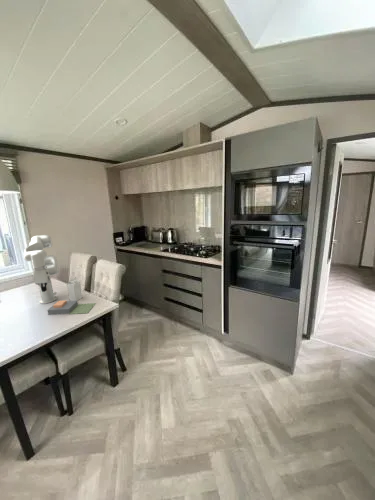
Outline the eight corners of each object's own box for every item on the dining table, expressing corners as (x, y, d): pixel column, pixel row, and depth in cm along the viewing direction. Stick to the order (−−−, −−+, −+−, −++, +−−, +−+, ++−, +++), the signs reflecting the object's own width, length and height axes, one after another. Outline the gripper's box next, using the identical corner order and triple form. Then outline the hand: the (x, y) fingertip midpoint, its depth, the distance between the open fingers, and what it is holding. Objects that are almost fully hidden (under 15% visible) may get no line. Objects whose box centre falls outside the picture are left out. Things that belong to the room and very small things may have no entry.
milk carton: (69, 300, 188) (65, 279, 184) (76, 297, 195) (72, 276, 190) (76, 301, 186) (72, 280, 182) (82, 297, 193) (79, 277, 188)
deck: (58, 305, 179) (57, 301, 178) (78, 304, 179) (77, 300, 178) (48, 314, 165) (47, 310, 165) (69, 313, 166) (68, 308, 165)
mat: (78, 304, 180) (78, 303, 180) (95, 303, 180) (95, 303, 180) (68, 314, 165) (68, 313, 165) (87, 313, 165) (87, 312, 165)
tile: (59, 303, 175) (58, 300, 175) (66, 302, 175) (66, 300, 175) (53, 307, 167) (53, 305, 167) (61, 307, 168) (61, 305, 167)
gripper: (52, 266, 168) (56, 288, 172) (33, 267, 168) (37, 289, 172) (46, 269, 161) (51, 292, 164) (26, 270, 160) (31, 293, 164)
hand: (44, 291), depth 168 cm, fingers closed
